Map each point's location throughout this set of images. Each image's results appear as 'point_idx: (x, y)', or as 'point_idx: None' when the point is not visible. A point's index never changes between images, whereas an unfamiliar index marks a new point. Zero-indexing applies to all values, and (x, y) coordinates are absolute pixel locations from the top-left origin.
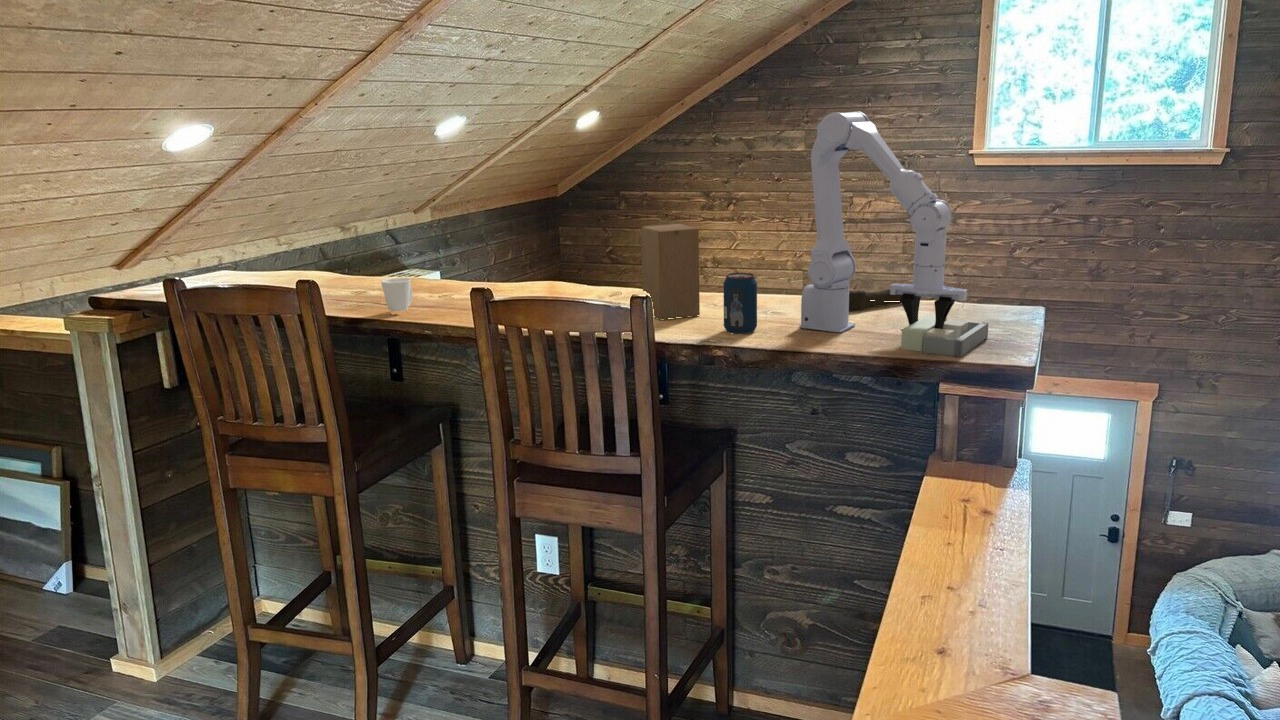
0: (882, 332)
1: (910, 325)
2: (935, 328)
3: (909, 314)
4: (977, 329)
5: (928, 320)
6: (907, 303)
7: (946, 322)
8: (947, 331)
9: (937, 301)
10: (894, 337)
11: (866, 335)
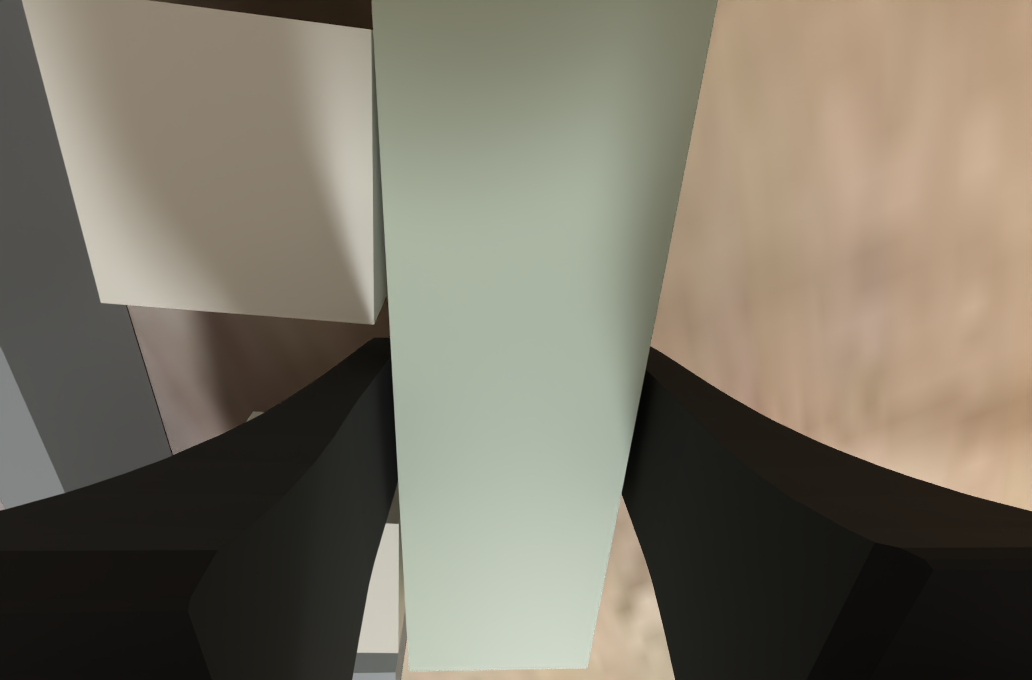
0: (867, 457)
1: (658, 241)
2: (353, 312)
3: (745, 429)
4: (11, 502)
5: (527, 541)
6: (914, 518)
7: (370, 579)
8: (139, 212)
9: (100, 623)
10: (767, 361)
11: (996, 328)
